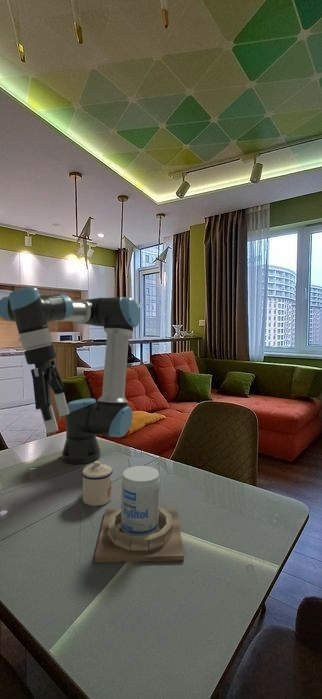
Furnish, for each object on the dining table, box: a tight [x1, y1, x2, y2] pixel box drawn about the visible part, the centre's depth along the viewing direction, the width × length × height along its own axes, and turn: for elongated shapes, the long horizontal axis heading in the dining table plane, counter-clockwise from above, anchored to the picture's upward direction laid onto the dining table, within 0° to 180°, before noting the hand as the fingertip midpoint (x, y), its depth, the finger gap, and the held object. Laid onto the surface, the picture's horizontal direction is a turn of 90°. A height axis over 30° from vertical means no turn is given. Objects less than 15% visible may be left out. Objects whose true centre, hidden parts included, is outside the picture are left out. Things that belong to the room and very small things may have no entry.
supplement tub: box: [120, 465, 161, 536], centre depth 84 cm, size 10×10×15 cm
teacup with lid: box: [81, 460, 113, 507], centre depth 103 cm, size 12×9×12 cm
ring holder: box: [94, 505, 185, 563], centre depth 85 cm, size 20×20×4 cm
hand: (59, 422), depth 91 cm, fingers open, 13 cm apart
